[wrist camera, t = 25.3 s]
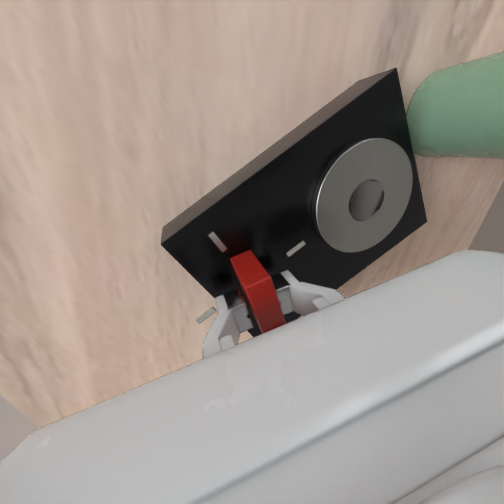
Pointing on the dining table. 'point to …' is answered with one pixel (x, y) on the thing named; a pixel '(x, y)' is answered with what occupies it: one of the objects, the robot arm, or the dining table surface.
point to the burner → (362, 194)
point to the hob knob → (258, 291)
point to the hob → (293, 200)
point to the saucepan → (460, 111)
